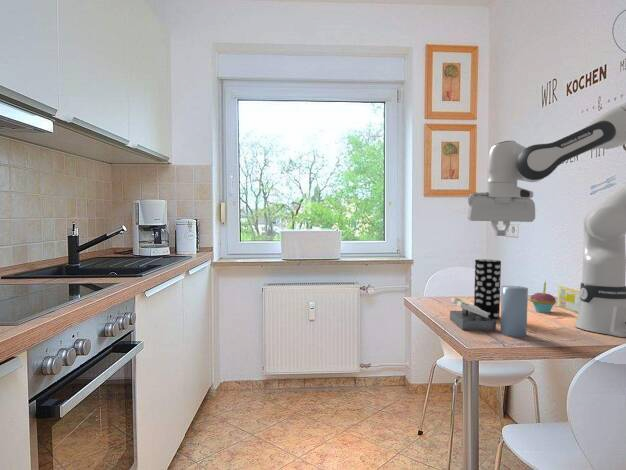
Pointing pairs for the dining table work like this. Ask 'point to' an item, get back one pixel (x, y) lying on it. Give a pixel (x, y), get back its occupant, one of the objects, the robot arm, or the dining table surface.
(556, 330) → the dining table surface
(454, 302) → the paddle
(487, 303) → the white-spotted black cylinder
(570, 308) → the candy box
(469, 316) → the panel
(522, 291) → the blue cylinder
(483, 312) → the paddle
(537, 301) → the cupcake
